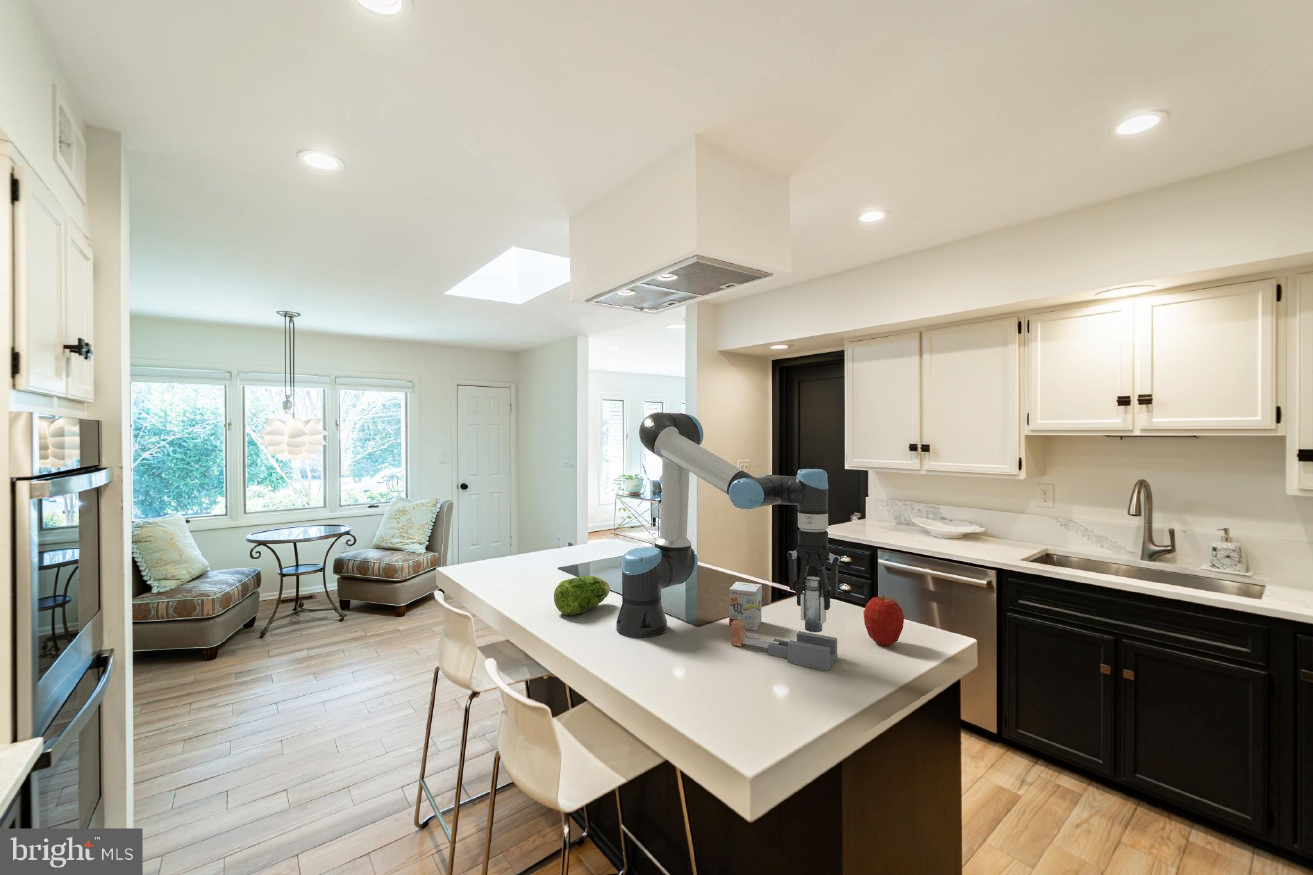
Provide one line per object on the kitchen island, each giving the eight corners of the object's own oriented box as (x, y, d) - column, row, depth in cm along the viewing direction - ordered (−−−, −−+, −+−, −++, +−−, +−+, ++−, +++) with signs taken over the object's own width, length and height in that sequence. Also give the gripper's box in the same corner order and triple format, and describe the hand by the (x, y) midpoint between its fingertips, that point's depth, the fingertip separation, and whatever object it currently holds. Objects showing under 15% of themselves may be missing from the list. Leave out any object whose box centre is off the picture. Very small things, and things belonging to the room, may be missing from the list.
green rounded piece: (618, 605, 188) (618, 572, 188) (573, 621, 172) (573, 585, 172) (594, 599, 195) (594, 567, 195) (549, 614, 179) (549, 579, 179)
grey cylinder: (802, 630, 142) (802, 579, 142) (807, 625, 146) (806, 575, 146) (820, 633, 139) (819, 581, 139) (824, 628, 143) (824, 577, 143)
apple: (860, 646, 152) (860, 595, 152) (867, 634, 161) (867, 586, 161) (901, 653, 147) (901, 601, 147) (906, 641, 155) (906, 592, 155)
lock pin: (730, 644, 152) (730, 622, 152) (735, 641, 155) (735, 619, 155) (776, 653, 146) (776, 631, 146) (780, 650, 148) (780, 627, 148)
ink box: (728, 626, 168) (728, 587, 168) (735, 618, 176) (735, 580, 176) (756, 630, 164) (756, 590, 164) (762, 621, 172) (762, 583, 172)
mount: (765, 657, 144) (765, 638, 144) (777, 645, 152) (777, 627, 152) (827, 670, 136) (827, 650, 136) (837, 657, 144) (837, 637, 144)
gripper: (775, 528, 144) (775, 619, 144) (844, 534, 135) (845, 630, 135) (784, 524, 150) (784, 611, 150) (851, 529, 141) (851, 621, 141)
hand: (813, 620), depth 142 cm, fingers closed on grey cylinder, 4 cm apart
